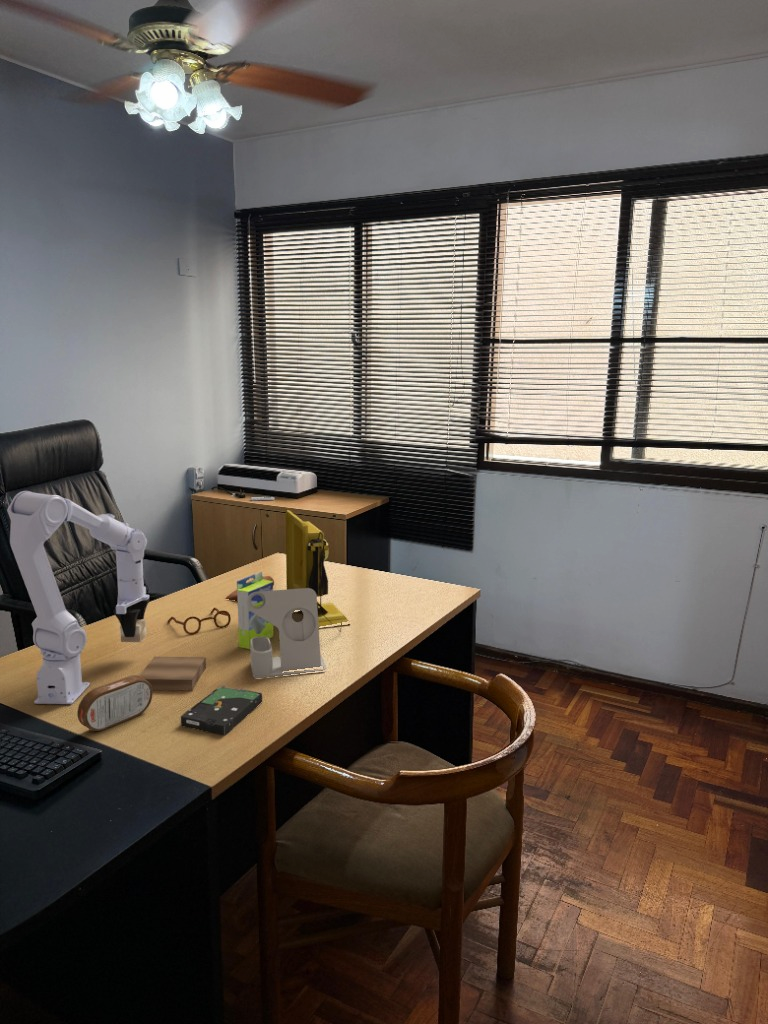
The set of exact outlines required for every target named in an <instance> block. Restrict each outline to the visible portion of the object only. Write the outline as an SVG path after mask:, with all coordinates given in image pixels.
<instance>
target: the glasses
mask: <svg viewBox="0 0 768 1024" xmlns="http://www.w3.org/2000/svg"><path fill="white" fill-rule="evenodd" d="M210 612H211V613H212V614H213V613H214V612H216V613H215V614H214V615H213V616H209V617H207V616H206V617H203V618H201V619H200V618H199V617H197V616H189V617H187V618H186V619H185V620H183V621H180V620H177V619H176V617H174V616H171V617H170V618H169V619H168V620H167V622H168V623H171V621H172V620H173V621H174V623H176V624H177V625H182V627H183V631H184V632H185V634H187V635H192V636H193V635H196V634H198V633H199V632H200V630H201V627H202V622H204V621H209V620H213V623H214V625H215V627H216V628H218V629H223V628H222V627H225V628H226V626H227V627H229V626H230V623H231V618H232V617H231V614H230V612H229V611H227V610H224V609H223V610H219V609H218V608H217V607H213V608H212V610H211V611H210ZM211 613H210V614H211ZM218 615H221V616H222V615H223V616H226V617H227V618H228V619H227V622H226V624H224V625H219V623H217V622H218V621H217V616H218ZM193 619H194V620H196V621H197V622H198V626H197V628H196V630H194V631H192V632H190V631H188V629H187V623H188V622H189V621H190V620H193Z"/></svg>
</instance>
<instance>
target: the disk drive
mask: <svg viewBox="0 0 768 1024" xmlns="http://www.w3.org/2000/svg"><path fill="white" fill-rule="evenodd" d="M261 702H262V703H263V693H262V692H257V691H253V690H249V689H248V690H247V689H243V688H240V689H239V688H238V689H237V688H231V687H228V686H226V685H222V686H219V687H218V688H216V689H214V690H213V691H212V692H210V694H208V695H206V696H205V697H204V698H203V699H201V700H200V701H199V702H197V703H196V704H194V705H193V706H192V707H191V708H190V709H188V710H187V711H185V712H184V713H182V715H180V726H181V727H183V726H185V727H184V728H188V727H189V728H188V729H192V728H195V729H194V730H197V729H199V730H198V731H201V730H203V731H202V732H206V731H207V733H211V734H216V735H220V736H227V735H228V734H229V733H230V732H231V731H233V729H235V727H237V725H239V724H240V723H241V722H242V721H244V719H245V718H247V717H248V716H249V715H250V714H251V713H252V712H253V711H255V710H256V709H257V708H258V707H259V706H260V705H261V704H262V703H261ZM260 703H261V704H260ZM259 704H260V705H259ZM258 705H259V706H258ZM257 706H258V707H257ZM256 707H257V708H256ZM255 708H256V709H255ZM254 709H255V710H254ZM248 714H249V715H248ZM247 715H248V716H247ZM246 716H247V717H246Z"/></svg>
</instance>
